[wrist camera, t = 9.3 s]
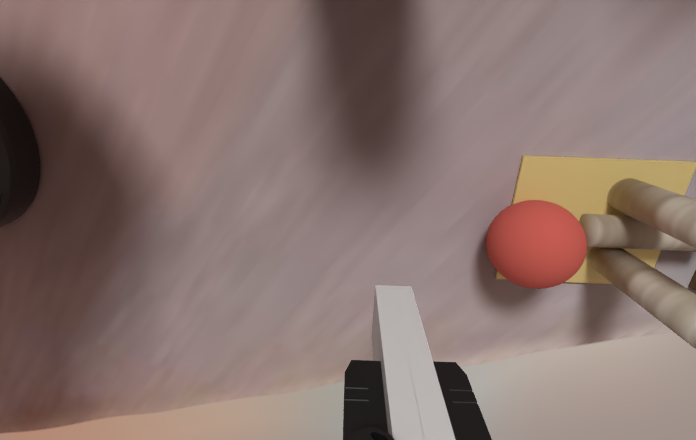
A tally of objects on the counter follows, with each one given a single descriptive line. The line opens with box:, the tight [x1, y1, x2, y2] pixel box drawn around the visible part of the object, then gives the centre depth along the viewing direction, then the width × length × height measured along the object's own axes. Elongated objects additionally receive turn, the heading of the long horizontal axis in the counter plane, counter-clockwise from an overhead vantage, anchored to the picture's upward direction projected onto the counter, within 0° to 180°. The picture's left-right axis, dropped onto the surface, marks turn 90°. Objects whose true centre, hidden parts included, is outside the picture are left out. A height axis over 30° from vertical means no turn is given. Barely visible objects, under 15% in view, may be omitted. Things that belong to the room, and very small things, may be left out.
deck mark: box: [496, 155, 696, 284], centre depth 26 cm, size 12×10×1 cm
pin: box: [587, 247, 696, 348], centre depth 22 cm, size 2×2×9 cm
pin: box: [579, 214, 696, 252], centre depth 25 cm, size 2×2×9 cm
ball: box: [486, 200, 587, 289], centre depth 23 cm, size 6×6×6 cm
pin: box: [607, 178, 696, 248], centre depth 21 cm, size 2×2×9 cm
